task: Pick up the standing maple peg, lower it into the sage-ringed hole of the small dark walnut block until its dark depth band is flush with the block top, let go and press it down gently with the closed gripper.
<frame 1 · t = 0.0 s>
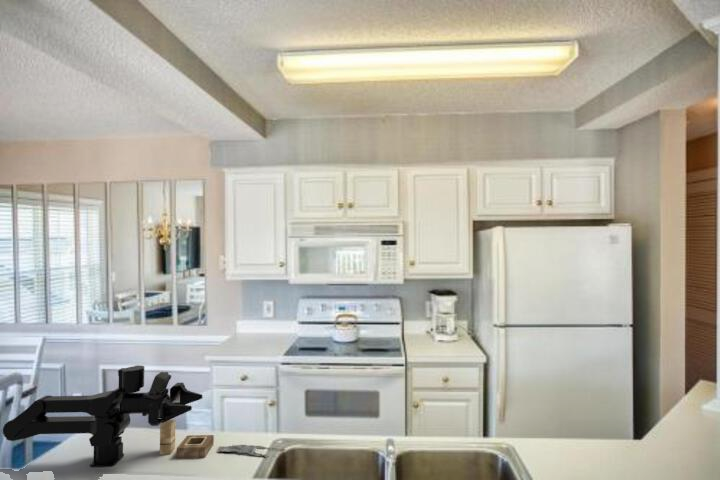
hand: (197, 402, 121), 17 cm above the countertop, tool horizontal, fingers open, 9 cm apart
peg: (167, 451, 125), on the countertop
board: (195, 451, 126), on the countertop
driftwood: (249, 454, 126), on the countertop
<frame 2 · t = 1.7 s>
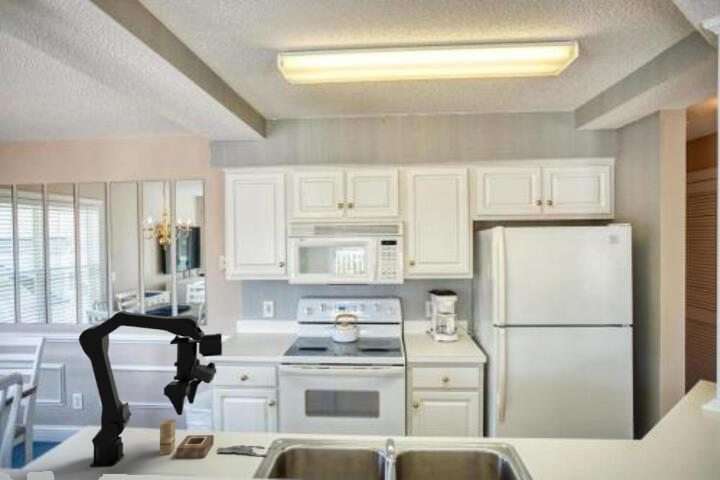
hand: (185, 408, 126), 13 cm above the countertop, tool pointing down, fingers open, 9 cm apart
nothing on the countertop moved.
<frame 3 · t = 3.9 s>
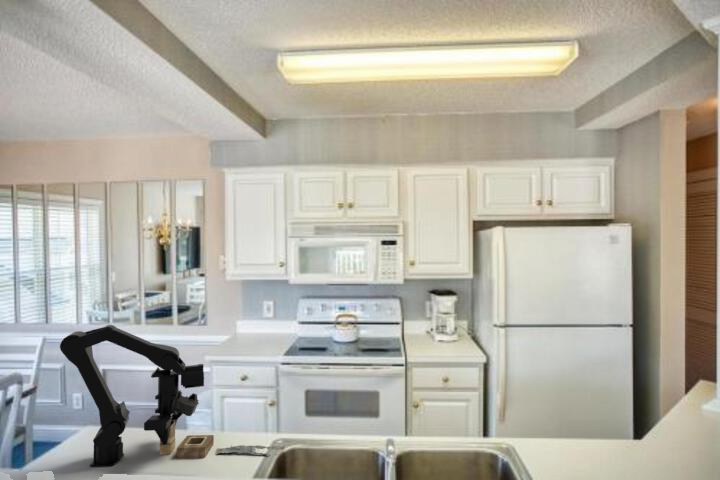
hand: (167, 441, 126), 3 cm above the countertop, tool pointing down, fingers closed on peg, 3 cm apart
peg: (167, 451, 125), on the countertop, touching gripper
everything else where it was.
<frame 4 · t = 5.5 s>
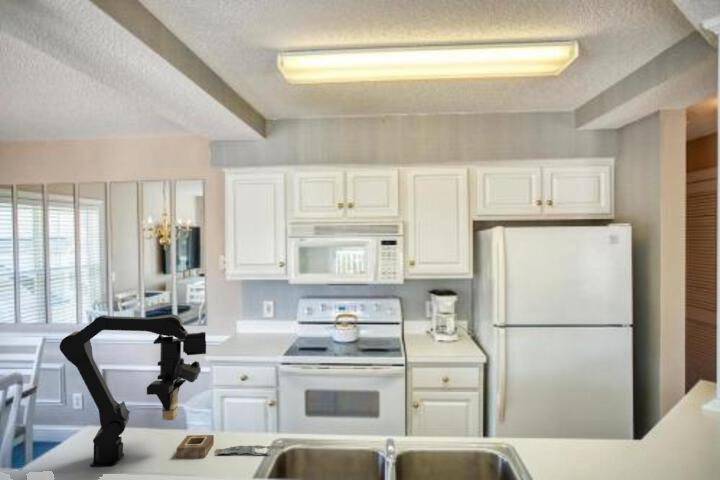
hand: (170, 408, 126), 13 cm above the countertop, tool pointing down, fingers closed on peg, 3 cm apart
peg: (170, 418, 126), point 10 cm above the countertop, touching gripper
everything else where it was.
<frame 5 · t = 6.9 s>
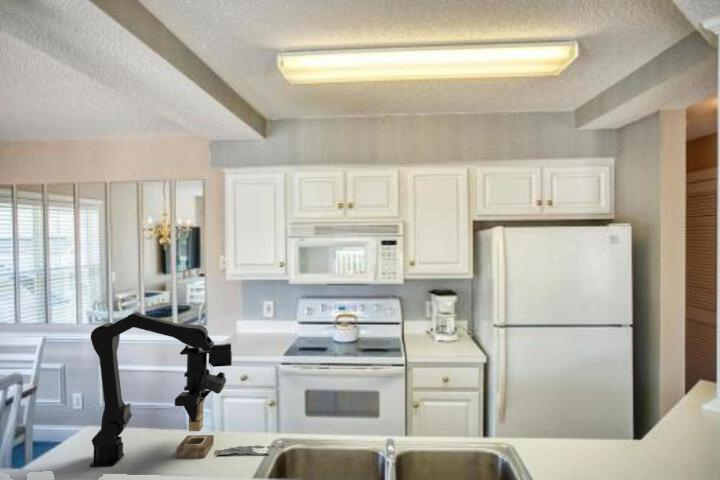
hand: (195, 419, 126), 10 cm above the countertop, tool pointing down, fingers closed on peg, 3 cm apart
peg: (195, 429, 126), point 7 cm above the countertop, touching gripper
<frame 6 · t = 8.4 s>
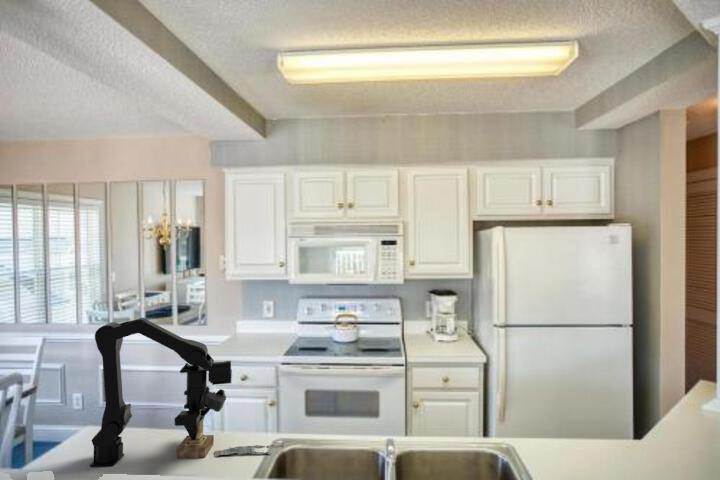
hand: (195, 437, 126), 4 cm above the countertop, tool pointing down, fingers closed on peg, 3 cm apart
peg: (195, 447, 126), point 1 cm above the countertop, touching gripper
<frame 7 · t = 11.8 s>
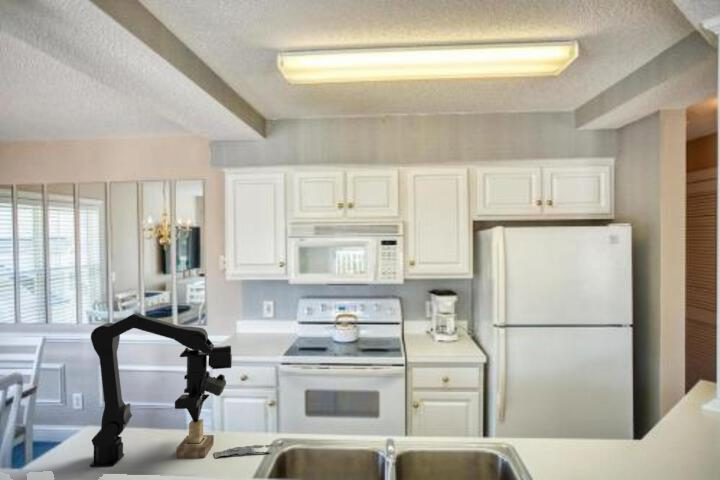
hand: (196, 421, 126), 9 cm above the countertop, tool pointing down, fingers closed, pressing on peg
peg: (195, 451, 126), resting in board, touching gripper
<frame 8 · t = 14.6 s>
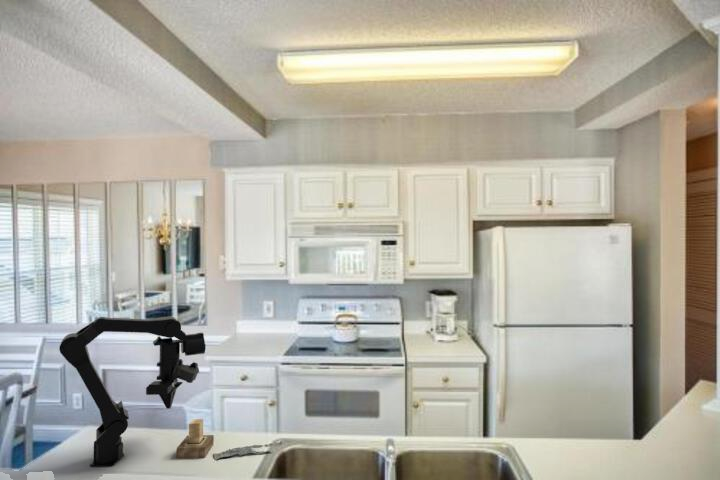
hand: (168, 408, 129), 12 cm above the countertop, tool pointing down, fingers closed
peg: (195, 451, 126), resting in board
at the end: peg 0.0 cm off-centre on the board, point 0.0 cm above the board's base; peg tilted 0°; the gripper is holding nothing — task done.
